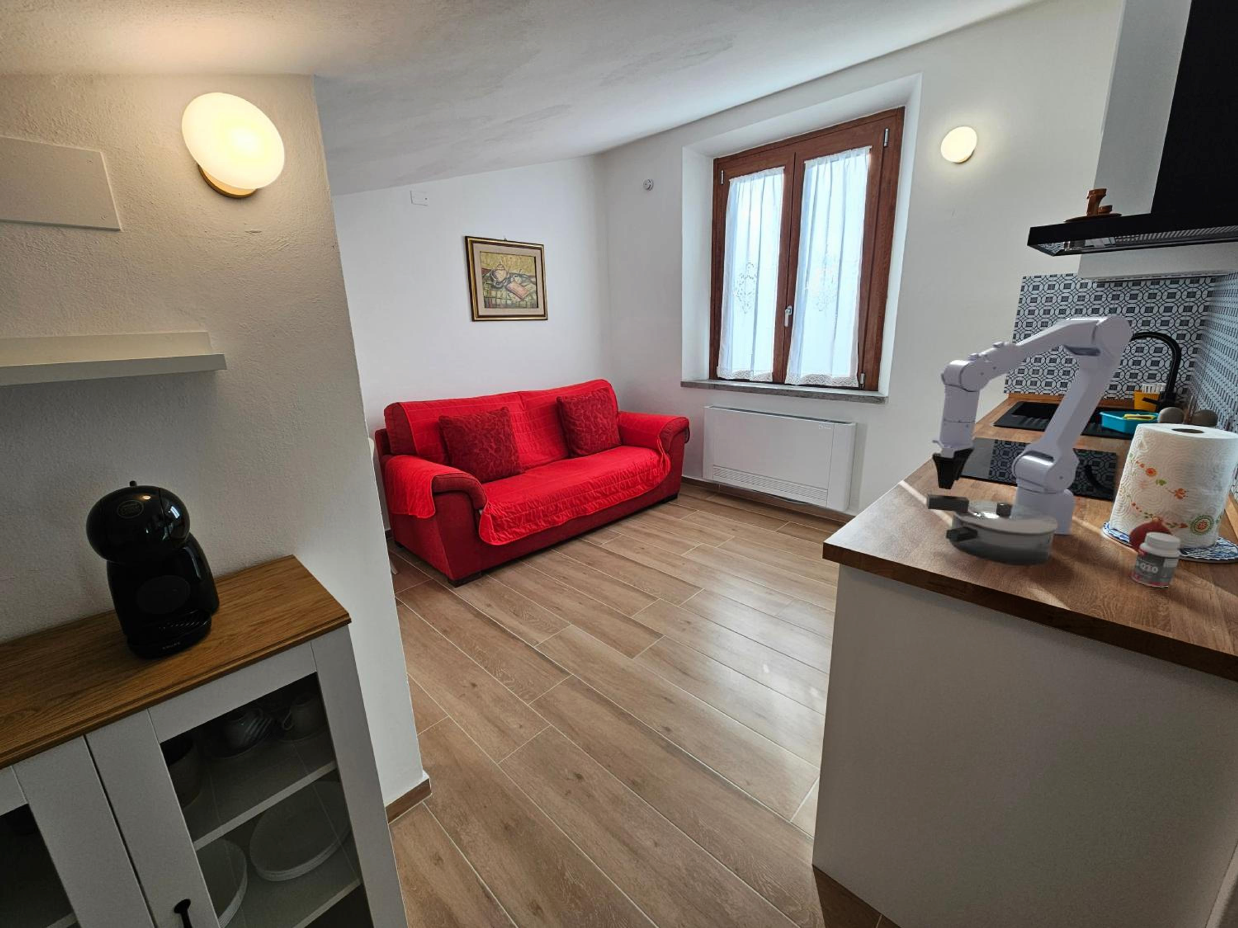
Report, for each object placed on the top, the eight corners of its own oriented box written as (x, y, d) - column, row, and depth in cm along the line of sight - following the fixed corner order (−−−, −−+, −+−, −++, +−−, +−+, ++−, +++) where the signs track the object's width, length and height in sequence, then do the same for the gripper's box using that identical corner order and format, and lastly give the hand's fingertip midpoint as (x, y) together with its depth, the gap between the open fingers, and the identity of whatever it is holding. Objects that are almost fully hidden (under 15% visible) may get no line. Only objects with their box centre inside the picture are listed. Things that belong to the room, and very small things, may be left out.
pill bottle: (1123, 576, 91) (1134, 531, 88) (1148, 574, 91) (1160, 530, 89) (1152, 589, 86) (1165, 543, 84) (1178, 588, 86) (1192, 541, 84)
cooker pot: (986, 526, 113) (991, 500, 111) (1069, 556, 98) (1075, 526, 97) (912, 541, 106) (916, 514, 105) (989, 575, 92) (995, 544, 90)
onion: (1177, 566, 94) (1189, 525, 91) (1139, 564, 95) (1150, 523, 93) (1152, 553, 99) (1163, 513, 97) (1117, 551, 100) (1126, 512, 98)
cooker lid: (1038, 508, 106) (1041, 493, 105) (1073, 539, 91) (1077, 522, 90) (919, 498, 114) (921, 484, 113) (934, 525, 99) (936, 509, 98)
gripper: (943, 413, 113) (935, 473, 117) (927, 423, 103) (918, 488, 107) (982, 416, 109) (972, 478, 112) (969, 427, 98) (959, 495, 102)
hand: (948, 484), depth 109 cm, fingers open, 7 cm apart
